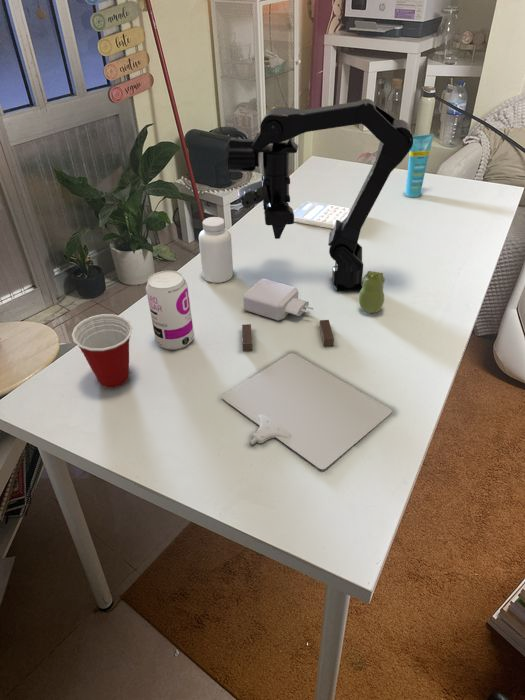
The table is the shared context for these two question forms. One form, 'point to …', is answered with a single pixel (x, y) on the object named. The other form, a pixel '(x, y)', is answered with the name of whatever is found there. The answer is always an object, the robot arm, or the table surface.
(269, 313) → the charger
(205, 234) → the pill bottle
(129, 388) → the table surface
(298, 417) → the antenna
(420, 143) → the tube
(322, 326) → the bay
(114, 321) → the plastic cup
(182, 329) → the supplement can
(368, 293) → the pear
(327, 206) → the calculator
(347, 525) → the table surface
